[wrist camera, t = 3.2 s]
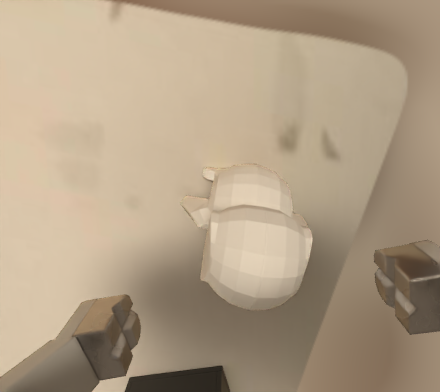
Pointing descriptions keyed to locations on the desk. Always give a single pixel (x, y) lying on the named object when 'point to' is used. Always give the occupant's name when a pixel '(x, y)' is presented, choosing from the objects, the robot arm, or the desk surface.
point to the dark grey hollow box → (181, 381)
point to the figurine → (251, 237)
